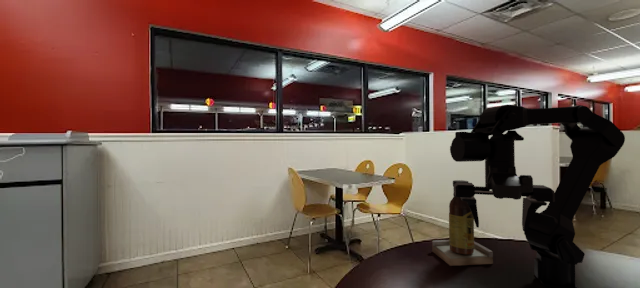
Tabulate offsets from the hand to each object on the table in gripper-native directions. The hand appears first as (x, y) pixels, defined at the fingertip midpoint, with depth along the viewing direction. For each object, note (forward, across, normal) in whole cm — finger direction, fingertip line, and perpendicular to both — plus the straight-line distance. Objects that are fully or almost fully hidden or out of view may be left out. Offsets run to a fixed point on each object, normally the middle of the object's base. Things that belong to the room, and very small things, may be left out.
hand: (500, 229), depth 64 cm
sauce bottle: (+11, -7, +13) cm, 18 cm away
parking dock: (+13, -7, +14) cm, 21 cm away
